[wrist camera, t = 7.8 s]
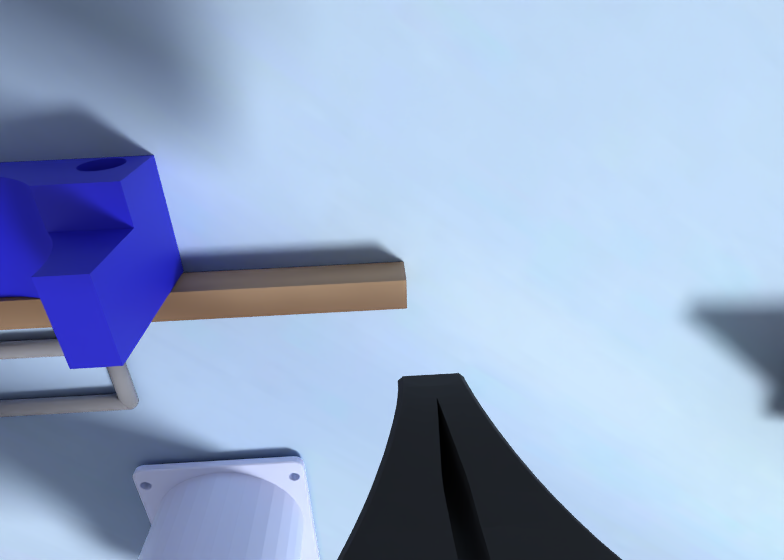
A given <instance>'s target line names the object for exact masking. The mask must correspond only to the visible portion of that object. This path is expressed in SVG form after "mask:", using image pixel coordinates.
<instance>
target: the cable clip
mask: <svg viewBox="0 0 784 560" xmlns="http://www.w3.org/2000/svg"><path fill="white" fill-rule="evenodd" d="M183 271H184V270H183V266H182V262H181V258H180V254H179V250H178V247H177V243H176V239H175V235H174V231H173V227H172V223H171V220H170V216H169V212H168V208H167V204H166V200H165V197H164V193H163V189H162V185H161V181H160V177H159V174H158V170H157V166H156V162H155V158H154V155H145V156H124V157H103V158H83V159H62V160H42V161H21V162H0V297H34V298H40V299H41V302H42V304H43V306H44V309H45V311H46V314H47V316H48V318H49V321H50V323H51V325H52V328H53V330H54V332H55V335H56V337H57V339H58V342H59V344H60V347H61V349H62V351H63V354H64V356H65V358H66V361H67V363H68V365H69V368H70V369H77V368H95V367H112V366H123V365H124V363H125V362H126V360H127V359H128V357H129V356H130V354H131V352H132V351H133V349H134V348H135V346H136V345H137V343H138V342H139V340H140V338H141V337H142V335H143V334H144V332H145V331H146V329H147V328H148V326H149V324H150V323H151V321H152V320H153V318H154V317H155V315H156V314H157V312H158V310H159V309H160V307H161V306H162V304H163V303H164V301H165V300H166V298H167V296H168V295H169V293H170V292H171V290H172V289H173V287H174V285H175V284H176V282H177V281H178V279H179V278H180V276H181V275H182V273H183Z"/></svg>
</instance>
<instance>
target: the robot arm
mask: <svg viewBox="0 0 784 560" xmlns="http://www.w3.org/2000/svg"><path fill="white" fill-rule="evenodd" d="M293 473H297V474H293ZM133 480H134V483H135V485H136V488H137V490H138V493H139V495H140V498H141V500H142V503H143V505H144V508H145V511H146V513H147V516H148V518H149V521H150V523H151V528H150V530H149V533H148V535H147V538H146V540H145V543H144V545H143V548H142V550H141V553H140V555H139V558H138V560H320V557H319V550H318V544H317V538H316V532H315V526H314V520H313V513H312V507H311V501H310V495H309V489H308V483H307V476H306V470H305V464H304V461H303V460H302V459H301V458H299V457H297V456H288V457H271V458H255V459H238V460H221V461H205V462H188V463H171V464H155V465H142V466H139V467H137V468H136V469H135V471H134V473H133ZM147 482H148V483H147ZM337 560H622V559H621V558H619V557H618V556H617V555H616V554H615V553H614V552H612V551H611V550H610V549H609V548H608V547H606V546H605V545H604V544H603V543H602V542H601V541H599V540H598V539H597V538H596V537H595V536H594V535H593V534H592V533H591V532H590V531H589V530H588V529H587V528H585V527H584V526H583V525H582V524H581V523H580V522H579V521H578V520H577V519H576V518H575V517H574V516H573V515H572V514H571V513H570V512H569V511H568V510H567V509H566V508H565V507H564V506H563V505H562V504H561V503H560V502H559V501H558V500H557V499H556V498H555V497H554V496H553V495H552V494H551V493H550V492H549V491H548V490H547V488H546V487H545V486H544V485H543V484H542V483H541V482H540V481H539V480H538V479H537V477H536V476H535V475H534V474H533V473H532V472H531V470H530V469H529V468H528V467H527V466H526V465H525V463H524V462H523V461H522V460H521V459H520V457H519V456H518V455H517V454H516V453H515V451H514V450H513V449H512V448H511V446H510V445H509V444H508V442H507V441H506V440H505V438H504V437H503V436H502V434H501V433H500V432H499V431H498V429H497V428H496V427H495V425H494V424H493V422H492V421H491V420H490V418H489V417H488V415H487V414H486V412H485V411H484V410H483V408H482V407H481V405H480V404H479V402H478V401H477V399H476V397H475V396H474V394H473V393H472V391H471V389H470V388H469V386H468V384H467V382H466V381H465V379H464V377H463V376H462V375H460V374H459V373H454V374H436V375H418V376H403V377H402V378H401V379H399V380H398V398H397V405H396V410H395V415H394V420H393V424H392V428H391V431H390V435H389V438H388V442H387V445H386V449H385V452H384V455H383V458H382V461H381V463H380V466H379V469H378V471H377V474H376V477H375V480H374V482H373V485H372V488H371V490H370V492H369V495H368V497H367V500H366V502H365V504H364V507H363V509H362V511H361V513H360V515H359V517H358V520H357V522H356V524H355V526H354V528H353V530H352V532H351V534H350V536H349V538H348V540H347V542H346V544H345V546H344V548H343V550H342V551H341V553H340V555H339V557H338V559H337Z"/></svg>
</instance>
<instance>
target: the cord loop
mask: <svg viewBox="0 0 784 560" xmlns="http://www.w3.org/2000/svg"><path fill="white" fill-rule="evenodd" d="M53 356H64V354H63V351H62V349H61V347H60V344H59V342H58V339H44V340H25V341H6V342H0V359H16V358H34V357H53ZM107 369H108V372H109V375H110V377H111V380H112V383H113V385H114V388H115V391H116V393H117V394H104V395H86V396H68V397H50V398H33V399H15V400H0V417H9V416H27V415H44V414H61V413H79V412H96V411H114V410H130V409H133V408H135V407H136V406H137V404H138V401H139V400H138V396H137V393H136V391H135V388H134V385H133V382H132V379H131V376H130V374H129V371H128V368H127V365H126V362H125V363H124V365H123V366H112V367H107Z"/></svg>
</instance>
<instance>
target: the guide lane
mask: <svg viewBox="0 0 784 560" xmlns="http://www.w3.org/2000/svg"><path fill="white" fill-rule="evenodd" d="M404 308H407V290H406V275H405V268H404V262H387V263H367V264H347V265H328V266H308V267H288V268H269V269H249V270H229V271H210V272H190V273H182V275H181V276H180V278H179V279H178V281H177V282H176V284H175V285H174V287H173V289H172V290H171V292H170V293H169V295H168V296H167V298H166V300H165V301H164V303H163V304H162V306H161V307H160V309H159V310H158V312H157V314H156V315H155V317H154V318H153V320H152V321H151V322H159V321H178V320H197V319H216V318H234V317H253V316H272V315H291V314H310V313H329V312H347V311H366V310H385V309H404ZM46 327H52V325H51V323H50V321H49V318H48V316H47V314H46V311H45V309H44V306H43V304H42V302H41V299H40V298H34V297H0V330H9V329H27V328H46Z"/></svg>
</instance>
